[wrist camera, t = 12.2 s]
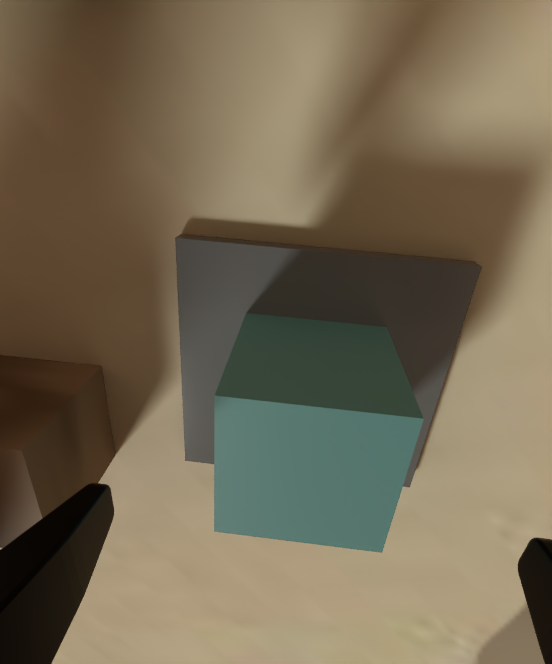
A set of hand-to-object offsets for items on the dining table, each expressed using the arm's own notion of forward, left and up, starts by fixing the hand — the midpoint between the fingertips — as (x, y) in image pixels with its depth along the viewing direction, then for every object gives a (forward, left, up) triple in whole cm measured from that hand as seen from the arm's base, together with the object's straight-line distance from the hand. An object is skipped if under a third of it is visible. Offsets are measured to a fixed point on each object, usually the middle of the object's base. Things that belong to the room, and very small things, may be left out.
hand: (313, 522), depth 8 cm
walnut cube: (-10, -3, -6) cm, 12 cm away
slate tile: (0, 0, -6) cm, 6 cm away
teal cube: (0, 0, -6) cm, 6 cm away
